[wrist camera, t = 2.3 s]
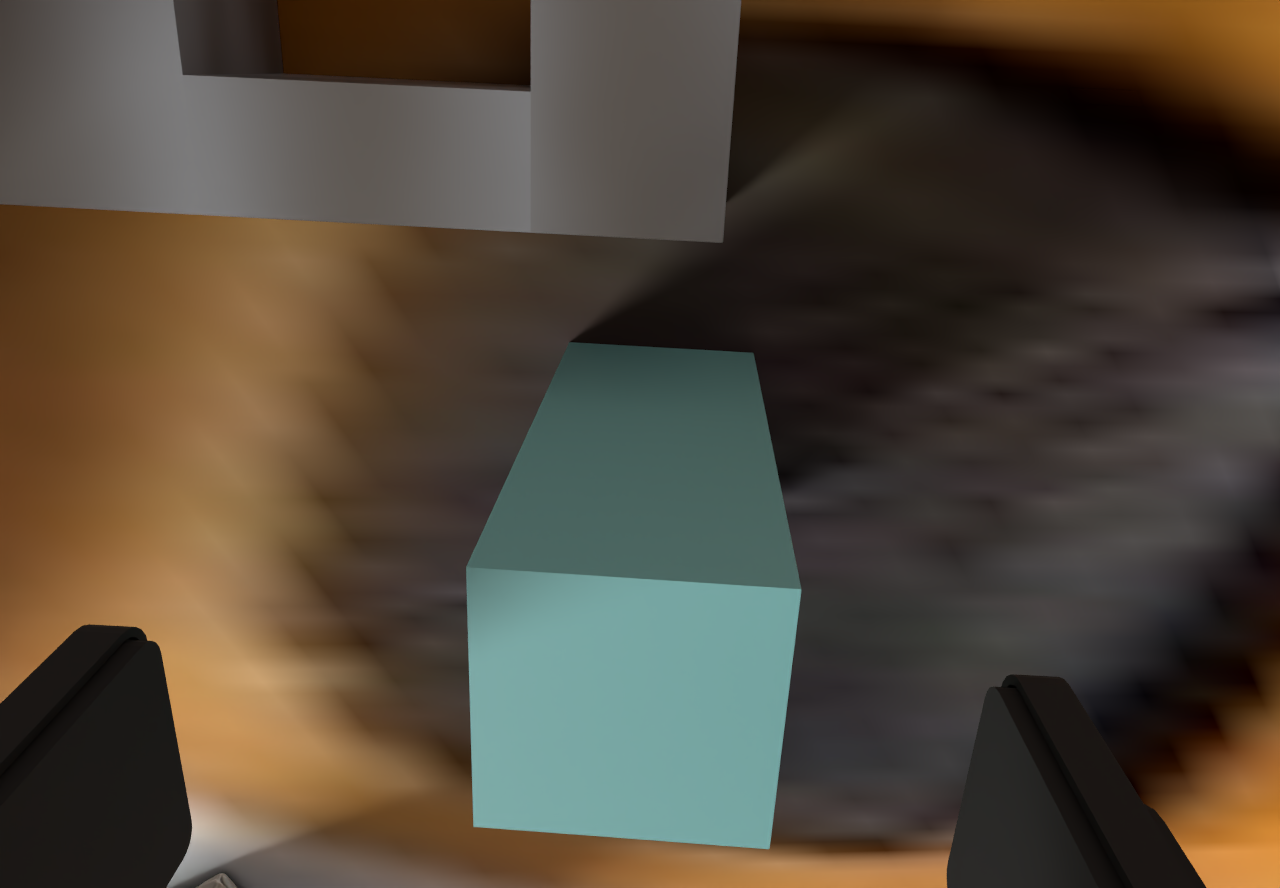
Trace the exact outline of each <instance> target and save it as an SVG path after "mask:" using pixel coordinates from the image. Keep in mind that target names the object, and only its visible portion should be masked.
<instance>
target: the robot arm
mask: <svg viewBox="0 0 1280 888" xmlns="http://www.w3.org/2000/svg"><path fill="white" fill-rule="evenodd" d="M191 833H192V821H191V815H190V809H189V804H188V798H187V793H186V787H185V782H184V776H183V771H182V765H181V760H180V754H179V749H178V743H177V738H176V732H175V727H174V721H173V716H172V710H171V705H170V699H169V694H168V688H167V683H166V677H165V672H164V666H163V661H162V655H161V651H160V648H159V646H158V645H157V643H156V642H153V641H147V638H146V635H145V634H144V632H143V631H142V630H141V629H139V628H137V627H124V626H106V625H84V626H81V627H80V628H79V629H77V630H76V631H74V632H73V633H72V634H71V635H70V636H69V637H68V638H67V639H66V640H65V641H64V642H63V643H62V644H61V645H60V646H59V647H58V648H57V649H56V650H55V651H54V652H53V653H52V654H51V655H50V656H49V657H48V658H47V659H46V660H45V661H44V662H43V663H42V664H41V665H40V666H39V667H38V668H37V669H36V670H34V671H33V672H32V673H31V674H30V675H29V676H28V677H27V678H26V679H25V680H24V681H23V682H22V683H21V684H20V685H19V686H18V687H17V688H16V689H15V690H14V691H13V692H12V693H11V694H10V695H9V696H8V697H7V698H6V699H5V700H4V701H3V702H2V703H1V704H0V888H166V887H167V885H168V883H169V882H170V880H171V878H172V877H173V875H174V873H175V872H176V870H177V868H178V867H179V865H180V864H181V862H182V860H183V858H184V856H185V854H186V852H187V849H188V847H189V843H190V839H191ZM947 888H1206V886H1205V885H1204V883H1203V882H1202V880H1201V878H1200V877H1199V875H1198V874H1197V872H1196V871H1195V869H1194V868H1193V866H1192V864H1191V863H1190V861H1189V860H1188V858H1187V857H1186V855H1185V853H1184V852H1183V850H1182V849H1181V847H1180V846H1179V844H1178V842H1177V841H1176V839H1175V838H1174V836H1173V835H1172V833H1171V831H1170V830H1169V828H1168V827H1167V825H1166V824H1165V822H1164V821H1163V820H1162V818H1161V817H1160V816H1159V815H1158V814H1157V812H1156V811H1155V810H1154V809H1152V808H1150V807H1149V806H1147V805H1145V804H1143V802H1142V801H1141V799H1140V797H1139V796H1138V794H1137V793H1136V791H1135V789H1134V788H1133V786H1132V785H1131V783H1130V781H1129V780H1128V778H1127V777H1126V775H1125V774H1124V772H1123V770H1122V769H1121V767H1120V766H1119V764H1118V762H1117V761H1116V759H1115V758H1114V756H1113V754H1112V753H1111V751H1110V750H1109V748H1108V746H1107V745H1106V743H1105V742H1104V740H1103V738H1102V737H1101V735H1100V734H1099V732H1098V730H1097V729H1096V727H1095V726H1094V724H1093V722H1092V721H1091V719H1090V718H1089V716H1088V714H1087V713H1086V711H1085V710H1084V708H1083V706H1082V705H1081V703H1080V702H1079V700H1078V698H1077V697H1076V695H1075V694H1074V692H1073V690H1072V689H1071V687H1070V686H1069V684H1068V683H1067V682H1066V681H1065V680H1064V679H1062V678H1060V677H1048V676H1030V675H1009V676H1007V677H1006V678H1005V680H1004V681H1003V683H1002V686H1001V687H991V688H989V690H988V691H987V693H986V696H985V700H984V704H983V709H982V713H981V718H980V722H979V727H978V731H977V736H976V740H975V745H974V749H973V754H972V758H971V762H970V767H969V771H968V776H967V780H966V785H965V789H964V794H963V798H962V803H961V807H960V811H959V816H958V820H957V825H956V829H955V834H954V838H953V843H952V847H951V852H950V856H949V860H948V866H947Z"/></svg>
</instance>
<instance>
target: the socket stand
mask: <svg viewBox="0 0 1280 888" xmlns="http://www.w3.org/2000/svg"><path fill="white" fill-rule="evenodd" d="M740 10H741V0H531V85H514V84H494V83H473V82H452V81H431V80H410V79H390V78H369V77H348V76H327V75H307V74H286V73H283V63H282V52H281V41H280V29H279V18H278V7H277V0H0V204H6V205H24V206H43V207H62V208H81V209H99V210H118V211H137V212H155V213H174V214H193V215H212V216H230V217H249V218H268V219H287V220H305V221H324V222H343V223H361V224H380V225H399V226H418V227H436V228H455V229H474V230H492V231H511V232H530V233H549V234H567V235H586V236H605V237H624V238H642V239H661V240H680V241H698V242H717V243H723V234H724V221H725V208H726V195H727V182H728V168H729V155H730V142H731V129H732V116H733V102H734V89H735V76H736V63H737V50H738V37H739V23H740Z"/></svg>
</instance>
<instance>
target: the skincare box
mask: <svg viewBox="0 0 1280 888" xmlns="http://www.w3.org/2000/svg"><path fill="white" fill-rule="evenodd" d="M195 888H237V887H236V885H235V884H234V883H233V882H232V880H231V879H230V878H229V877H228V876H227V875H226V874H224V873H221V874H217V875H215V876H214V877H212V878H211V879H208V880H206V881H205V882H204V883H202V884H201V885H200V886H198V887H195Z"/></svg>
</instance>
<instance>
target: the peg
mask: <svg viewBox="0 0 1280 888" xmlns="http://www.w3.org/2000/svg"><path fill="white" fill-rule="evenodd" d="M466 577H467V613H468V649H469V685H470V721H471V757H472V793H473V827H482V828H496V829H509V830H522V831H536V832H549V833H562V834H575V835H589V836H602V837H615V838H628V839H642V840H655V841H668V842H682V843H695V844H708V845H721V846H735V847H748V848H761V849H769V848H770V840H771V832H772V824H773V816H774V808H775V800H776V791H777V783H778V775H779V767H780V759H781V751H782V743H783V734H784V726H785V718H786V710H787V702H788V694H789V686H790V678H791V669H792V661H793V653H794V645H795V637H796V629H797V621H798V613H799V604H800V596H801V585H800V580H799V575H798V570H797V565H796V560H795V555H794V551H793V546H792V541H791V536H790V531H789V526H788V521H787V516H786V511H785V506H784V501H783V496H782V491H781V486H780V481H779V477H778V472H777V467H776V462H775V457H774V452H773V447H772V442H771V437H770V432H769V427H768V422H767V417H766V412H765V407H764V403H763V398H762V393H761V388H760V383H759V378H758V373H757V368H756V363H755V358H754V353H748V352H731V351H713V350H696V349H679V348H661V347H644V346H626V345H609V344H592V343H574V342H569V344H568V346H567V349H566V351H565V353H564V355H563V357H562V359H561V362H560V364H559V366H558V368H557V370H556V373H555V375H554V377H553V379H552V381H551V383H550V386H549V388H548V390H547V392H546V394H545V397H544V399H543V401H542V403H541V405H540V407H539V410H538V412H537V414H536V416H535V418H534V421H533V423H532V425H531V427H530V429H529V431H528V434H527V436H526V438H525V440H524V442H523V445H522V447H521V449H520V451H519V453H518V455H517V458H516V460H515V462H514V464H513V466H512V469H511V471H510V473H509V475H508V477H507V479H506V482H505V484H504V486H503V488H502V490H501V492H500V495H499V497H498V499H497V501H496V503H495V506H494V508H493V510H492V512H491V514H490V516H489V519H488V521H487V523H486V525H485V527H484V530H483V532H482V534H481V536H480V538H479V540H478V543H477V545H476V547H475V549H474V551H473V554H472V556H471V558H470V560H469V562H468V564H467V567H466Z"/></svg>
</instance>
